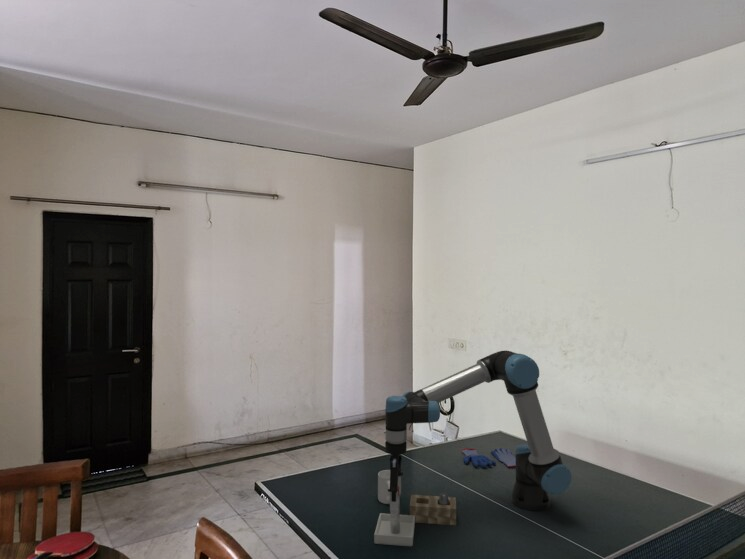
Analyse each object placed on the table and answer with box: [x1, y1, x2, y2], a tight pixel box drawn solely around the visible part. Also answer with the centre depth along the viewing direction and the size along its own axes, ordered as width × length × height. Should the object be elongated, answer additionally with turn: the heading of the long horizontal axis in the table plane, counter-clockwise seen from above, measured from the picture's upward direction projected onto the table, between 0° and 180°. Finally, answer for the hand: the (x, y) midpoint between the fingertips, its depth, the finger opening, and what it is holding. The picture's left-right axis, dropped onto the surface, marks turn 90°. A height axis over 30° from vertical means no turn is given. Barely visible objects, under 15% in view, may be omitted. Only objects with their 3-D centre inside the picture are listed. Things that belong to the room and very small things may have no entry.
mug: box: [377, 469, 390, 505], centre depth 200 cm, size 9×12×11 cm
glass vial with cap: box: [389, 487, 401, 534], centre depth 174 cm, size 3×3×16 cm
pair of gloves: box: [461, 447, 516, 470], centre depth 249 cm, size 32×26×4 cm
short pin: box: [438, 492, 449, 505], centre depth 186 cm, size 3×3×9 cm
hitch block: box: [409, 494, 457, 526], centre depth 187 cm, size 17×10×6 cm, turn 82°
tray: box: [373, 512, 416, 547], centre depth 174 cm, size 13×16×3 cm
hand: (395, 501), depth 175 cm, fingers open, 12 cm apart
